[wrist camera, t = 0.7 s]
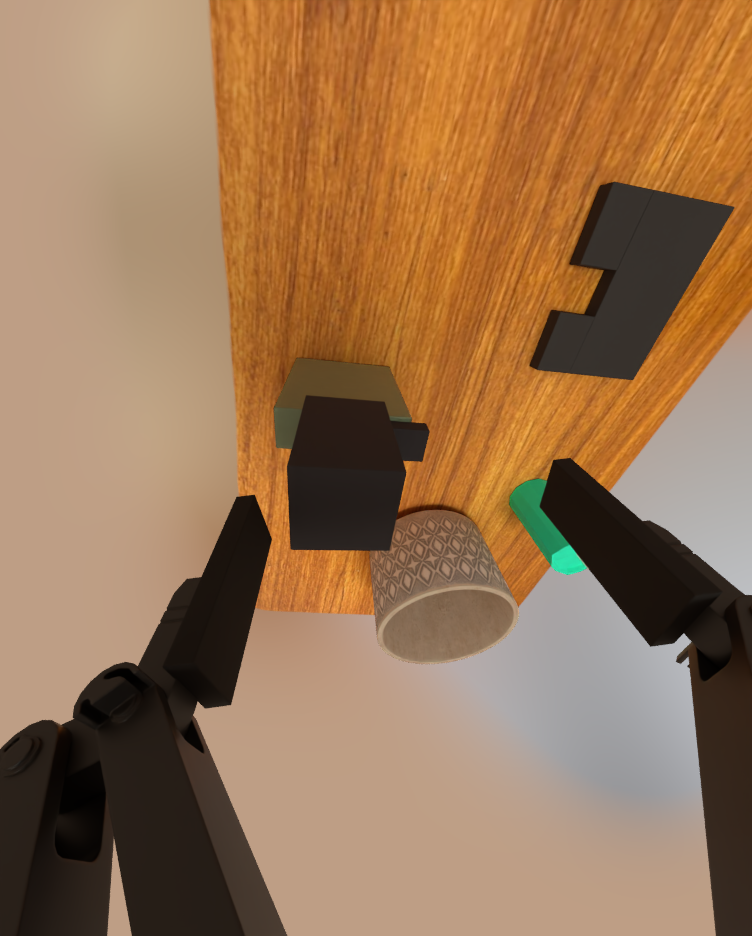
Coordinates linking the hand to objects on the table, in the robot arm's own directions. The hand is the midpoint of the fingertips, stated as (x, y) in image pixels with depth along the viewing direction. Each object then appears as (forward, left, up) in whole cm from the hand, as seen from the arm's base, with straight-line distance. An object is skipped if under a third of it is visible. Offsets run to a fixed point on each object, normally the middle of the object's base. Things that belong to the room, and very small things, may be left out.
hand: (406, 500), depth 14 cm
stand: (+1, -3, -20) cm, 20 cm away
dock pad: (-9, +22, -20) cm, 31 cm away
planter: (+25, +11, -20) cm, 34 cm away
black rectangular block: (+1, -1, -8) cm, 8 cm away
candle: (+15, +24, -20) cm, 35 cm away
